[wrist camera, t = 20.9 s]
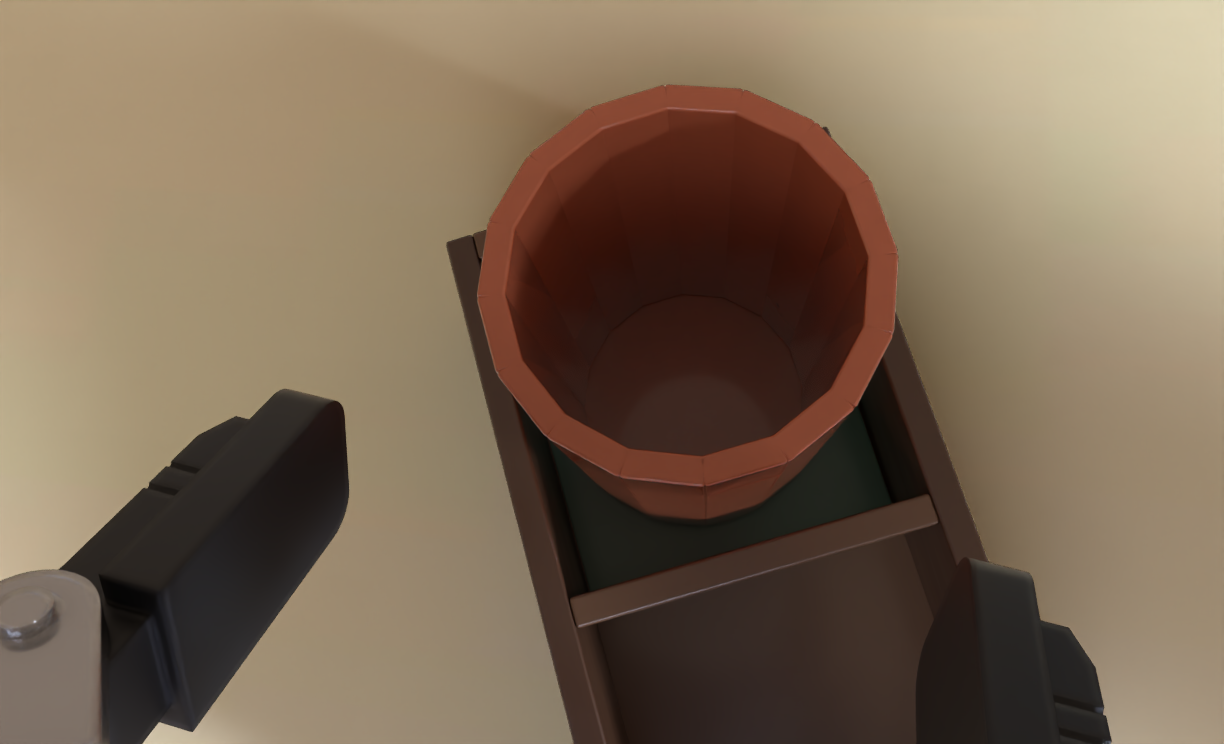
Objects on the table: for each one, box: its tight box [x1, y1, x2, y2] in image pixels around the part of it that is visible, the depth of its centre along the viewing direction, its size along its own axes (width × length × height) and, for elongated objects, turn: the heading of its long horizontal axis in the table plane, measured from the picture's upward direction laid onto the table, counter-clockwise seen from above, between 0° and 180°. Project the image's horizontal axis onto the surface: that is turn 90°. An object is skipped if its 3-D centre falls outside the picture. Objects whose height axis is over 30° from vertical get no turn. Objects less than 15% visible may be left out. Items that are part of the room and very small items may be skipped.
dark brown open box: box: [446, 127, 989, 744], centre depth 20 cm, size 8×16×4 cm, turn 16°
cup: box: [477, 85, 899, 526], centre depth 17 cm, size 6×6×10 cm
